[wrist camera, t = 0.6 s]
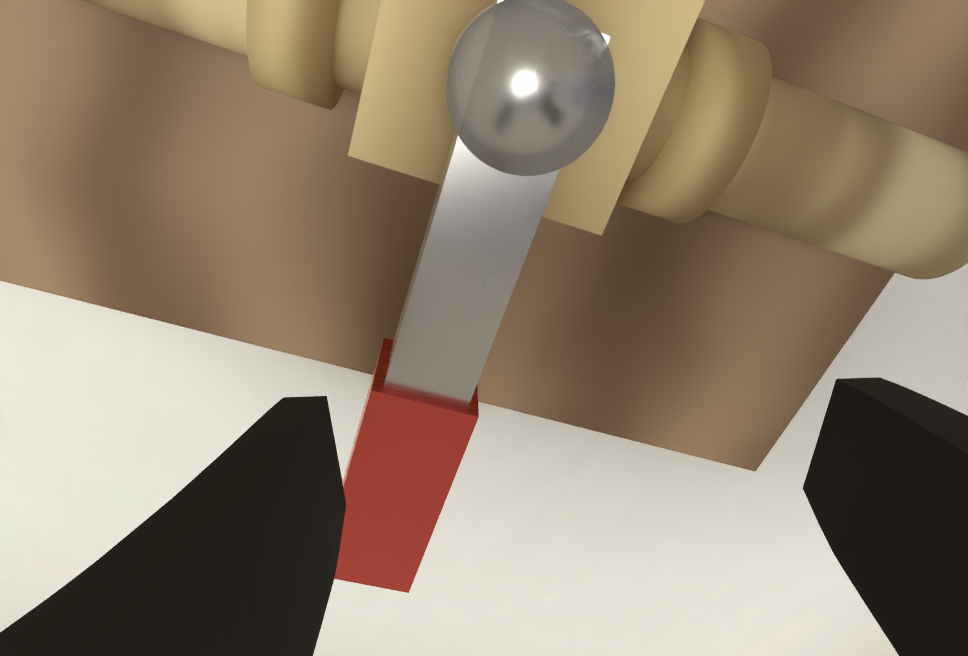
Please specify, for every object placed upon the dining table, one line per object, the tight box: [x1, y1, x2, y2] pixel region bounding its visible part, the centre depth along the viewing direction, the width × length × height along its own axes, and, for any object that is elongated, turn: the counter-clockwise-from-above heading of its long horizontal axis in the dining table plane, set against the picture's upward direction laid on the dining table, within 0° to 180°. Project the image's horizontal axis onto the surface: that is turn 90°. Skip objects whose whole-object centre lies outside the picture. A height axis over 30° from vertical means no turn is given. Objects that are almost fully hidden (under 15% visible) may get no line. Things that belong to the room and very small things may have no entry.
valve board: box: [0, 0, 968, 471], centre depth 14 cm, size 26×16×6 cm, turn 72°
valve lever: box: [334, 0, 615, 593], centre depth 11 cm, size 12×2×2 cm, turn 162°
